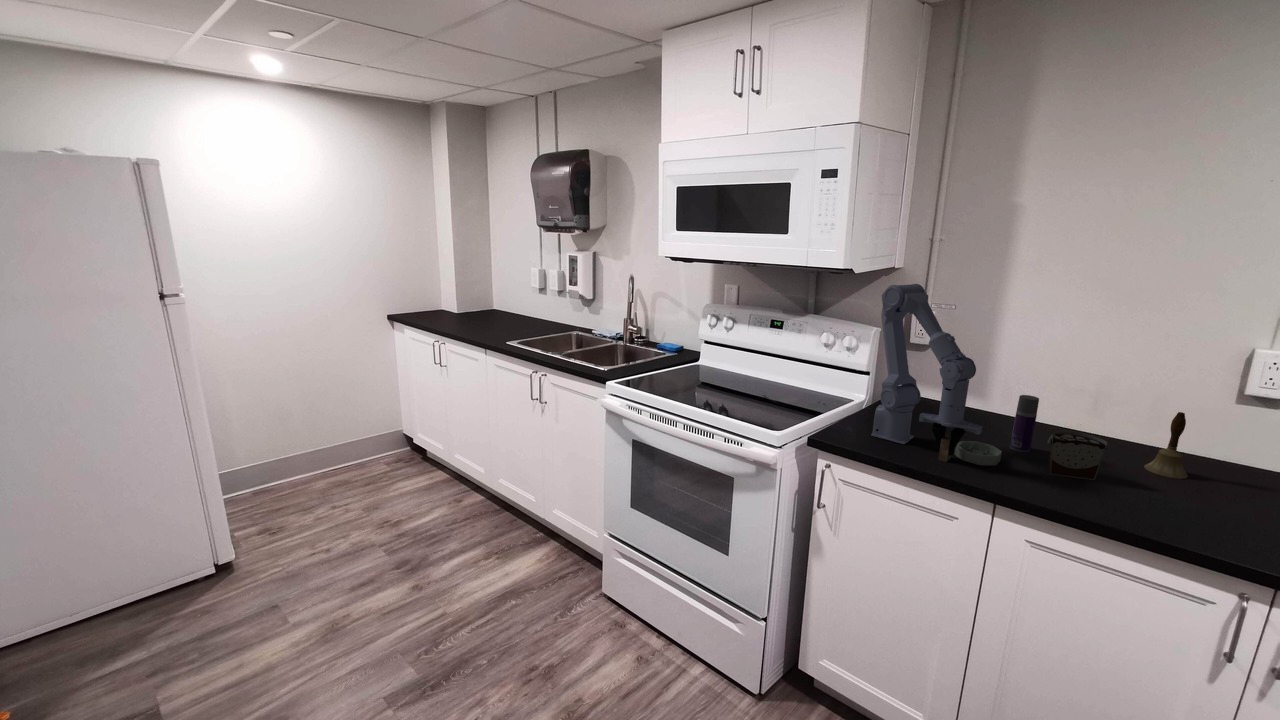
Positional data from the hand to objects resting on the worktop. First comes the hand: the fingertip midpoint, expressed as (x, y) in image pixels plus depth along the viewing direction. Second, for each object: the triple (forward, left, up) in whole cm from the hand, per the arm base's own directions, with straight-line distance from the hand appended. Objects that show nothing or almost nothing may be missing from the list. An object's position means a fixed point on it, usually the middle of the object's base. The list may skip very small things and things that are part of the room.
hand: (945, 452), depth 152 cm
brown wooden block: (0, 0, -2) cm, 2 cm away
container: (+13, +22, -2) cm, 26 cm away
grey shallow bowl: (+6, +7, -2) cm, 9 cm away
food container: (+25, +13, -2) cm, 28 cm away
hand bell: (+43, +31, -2) cm, 53 cm away
